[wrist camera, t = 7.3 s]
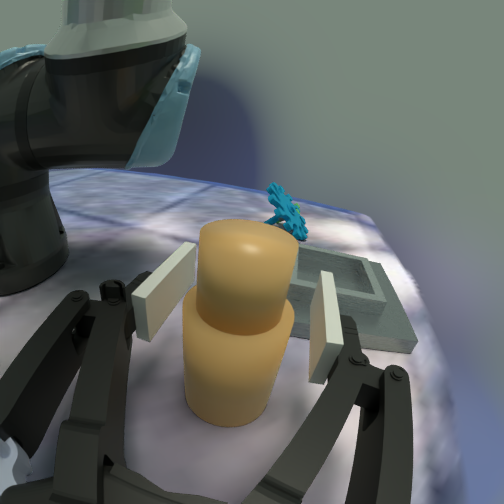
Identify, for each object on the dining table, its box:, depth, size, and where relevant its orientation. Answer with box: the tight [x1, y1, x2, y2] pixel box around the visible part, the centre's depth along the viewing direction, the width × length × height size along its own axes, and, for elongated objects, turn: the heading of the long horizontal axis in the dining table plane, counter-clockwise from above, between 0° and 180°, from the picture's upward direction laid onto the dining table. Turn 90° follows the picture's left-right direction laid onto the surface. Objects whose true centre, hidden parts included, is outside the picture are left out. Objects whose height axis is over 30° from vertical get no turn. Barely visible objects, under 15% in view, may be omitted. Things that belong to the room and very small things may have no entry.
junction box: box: [286, 244, 418, 353], centre depth 28 cm, size 16×16×3 cm
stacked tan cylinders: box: [183, 219, 299, 427], centre depth 13 cm, size 5×5×10 cm
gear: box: [264, 182, 308, 240], centre depth 43 cm, size 11×6×10 cm
